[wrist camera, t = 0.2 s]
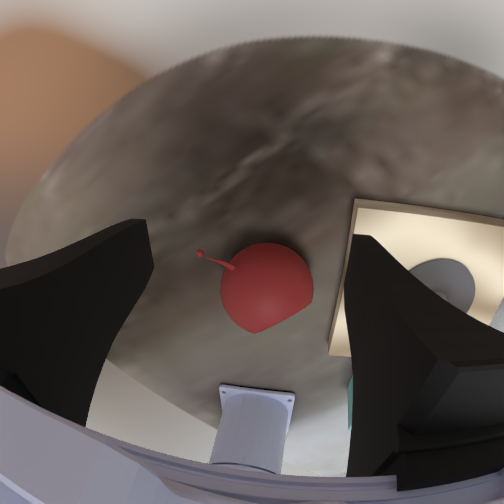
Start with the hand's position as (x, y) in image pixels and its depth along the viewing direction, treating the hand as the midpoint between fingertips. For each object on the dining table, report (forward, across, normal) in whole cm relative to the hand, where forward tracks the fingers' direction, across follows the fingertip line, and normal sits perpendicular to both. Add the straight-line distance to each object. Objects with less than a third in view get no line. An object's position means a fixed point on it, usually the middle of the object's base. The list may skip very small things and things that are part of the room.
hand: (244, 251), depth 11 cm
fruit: (+10, +1, +6) cm, 12 cm away
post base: (+10, -12, +8) cm, 18 cm away
